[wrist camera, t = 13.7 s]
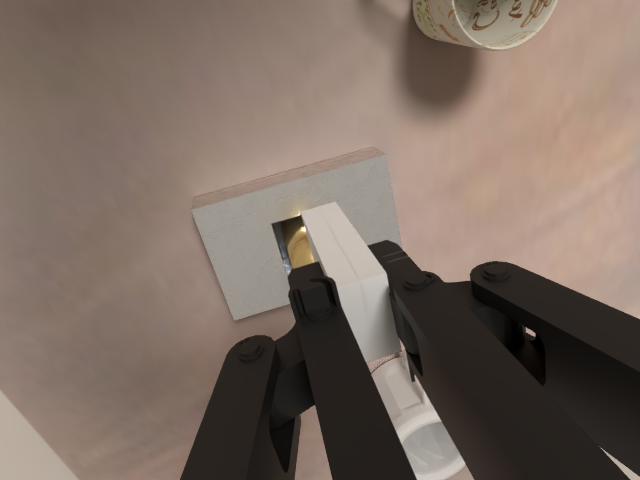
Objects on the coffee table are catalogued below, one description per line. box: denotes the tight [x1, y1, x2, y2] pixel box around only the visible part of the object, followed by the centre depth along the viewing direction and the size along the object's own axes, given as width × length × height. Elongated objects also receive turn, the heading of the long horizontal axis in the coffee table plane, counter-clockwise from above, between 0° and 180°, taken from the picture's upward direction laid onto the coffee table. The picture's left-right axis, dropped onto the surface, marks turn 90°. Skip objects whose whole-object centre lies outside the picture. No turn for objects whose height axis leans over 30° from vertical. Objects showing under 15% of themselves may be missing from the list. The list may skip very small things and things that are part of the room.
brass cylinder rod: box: [282, 215, 314, 269], centre depth 39 cm, size 4×4×10 cm
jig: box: [191, 147, 402, 321], centre depth 42 cm, size 12×18×4 cm, turn 103°
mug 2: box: [371, 351, 466, 480], centre depth 49 cm, size 14×11×10 cm
